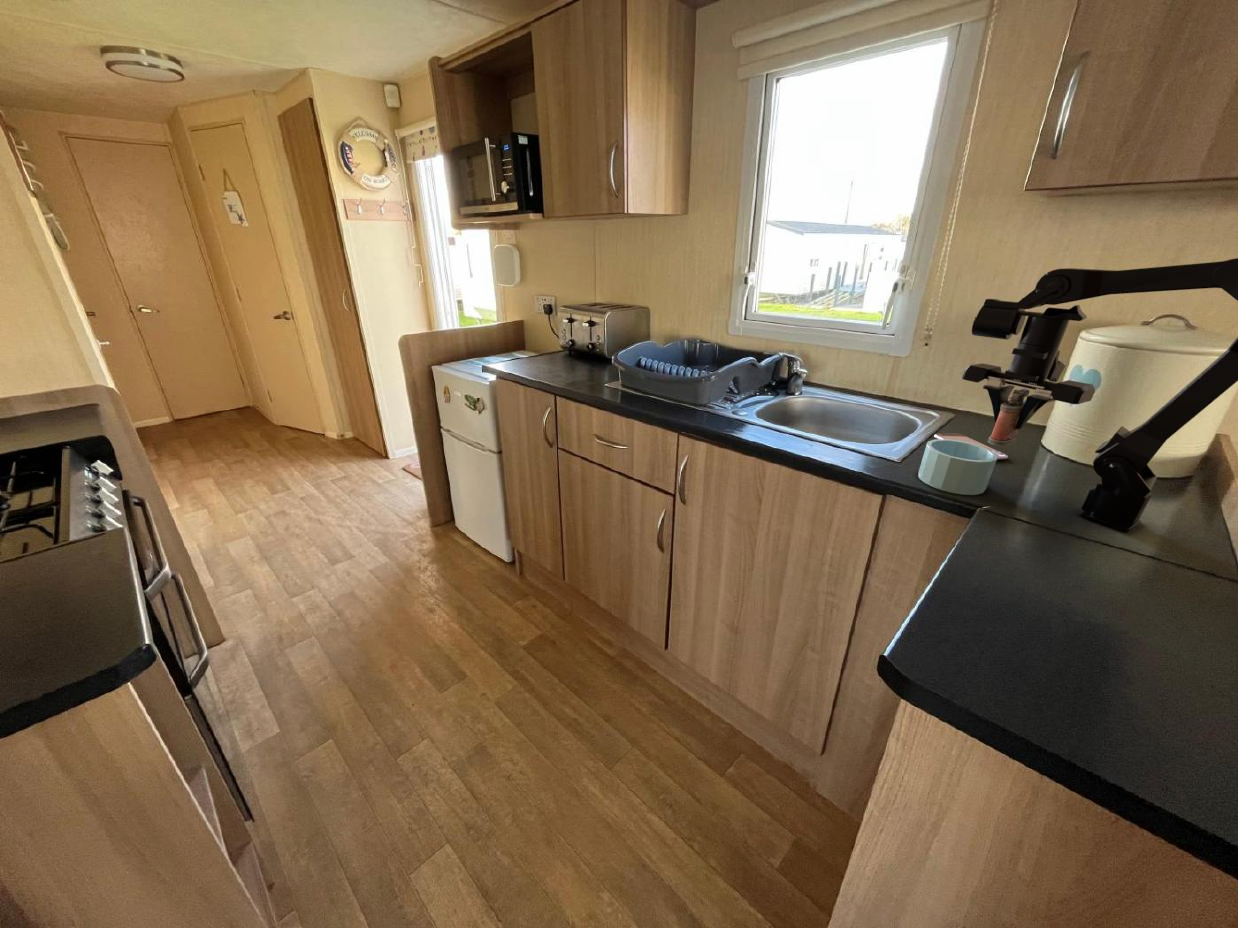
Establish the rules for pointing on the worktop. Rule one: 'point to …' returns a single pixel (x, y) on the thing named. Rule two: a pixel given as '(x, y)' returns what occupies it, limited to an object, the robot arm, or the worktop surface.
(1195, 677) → the worktop surface
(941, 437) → the mobile phone
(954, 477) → the pale green round tub
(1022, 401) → the lighter
